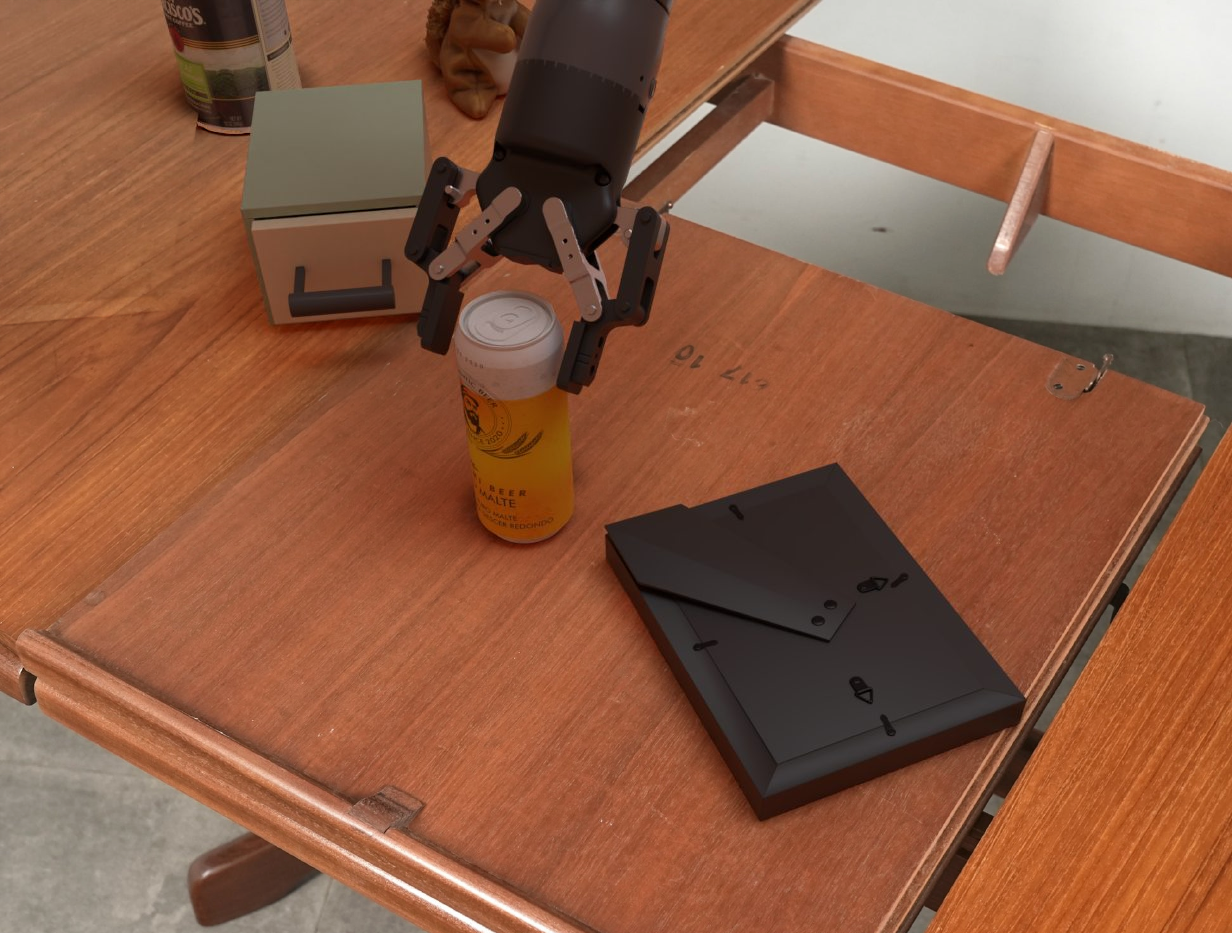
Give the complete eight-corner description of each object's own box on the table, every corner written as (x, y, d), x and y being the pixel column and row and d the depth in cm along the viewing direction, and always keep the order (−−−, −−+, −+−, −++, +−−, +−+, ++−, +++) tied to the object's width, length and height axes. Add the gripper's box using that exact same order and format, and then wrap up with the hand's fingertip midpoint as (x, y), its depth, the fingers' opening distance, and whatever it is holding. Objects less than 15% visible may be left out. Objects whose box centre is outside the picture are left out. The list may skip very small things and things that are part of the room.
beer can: (459, 512, 87) (429, 315, 75) (535, 469, 89) (517, 272, 78) (517, 564, 83) (495, 366, 72) (594, 518, 86) (585, 320, 75)
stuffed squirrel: (478, 126, 119) (462, -29, 109) (396, 66, 127) (374, -83, 117) (572, 90, 123) (565, -62, 113) (487, 34, 131) (473, -113, 121)
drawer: (434, 353, 96) (420, 257, 90) (270, 367, 95) (245, 272, 90) (428, 197, 110) (415, 105, 104) (285, 208, 109) (264, 117, 103)
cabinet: (442, 311, 101) (425, 194, 94) (269, 326, 100) (240, 209, 93) (436, 191, 112) (421, 78, 105) (281, 204, 111) (255, 91, 104)
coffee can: (228, 149, 117) (186, -18, 107) (168, 106, 123) (122, -57, 112) (329, 107, 122) (298, -57, 111) (267, 67, 127) (232, -93, 117)
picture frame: (605, 558, 84) (760, 821, 71) (604, 525, 81) (763, 790, 68) (833, 486, 87) (1019, 723, 74) (837, 452, 85) (1030, 691, 72)
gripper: (439, 31, 73) (357, 327, 75) (684, 82, 69) (591, 395, 70) (496, 82, 80) (419, 351, 82) (721, 131, 76) (636, 414, 77)
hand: (499, 371), depth 76 cm, fingers open, 8 cm apart
